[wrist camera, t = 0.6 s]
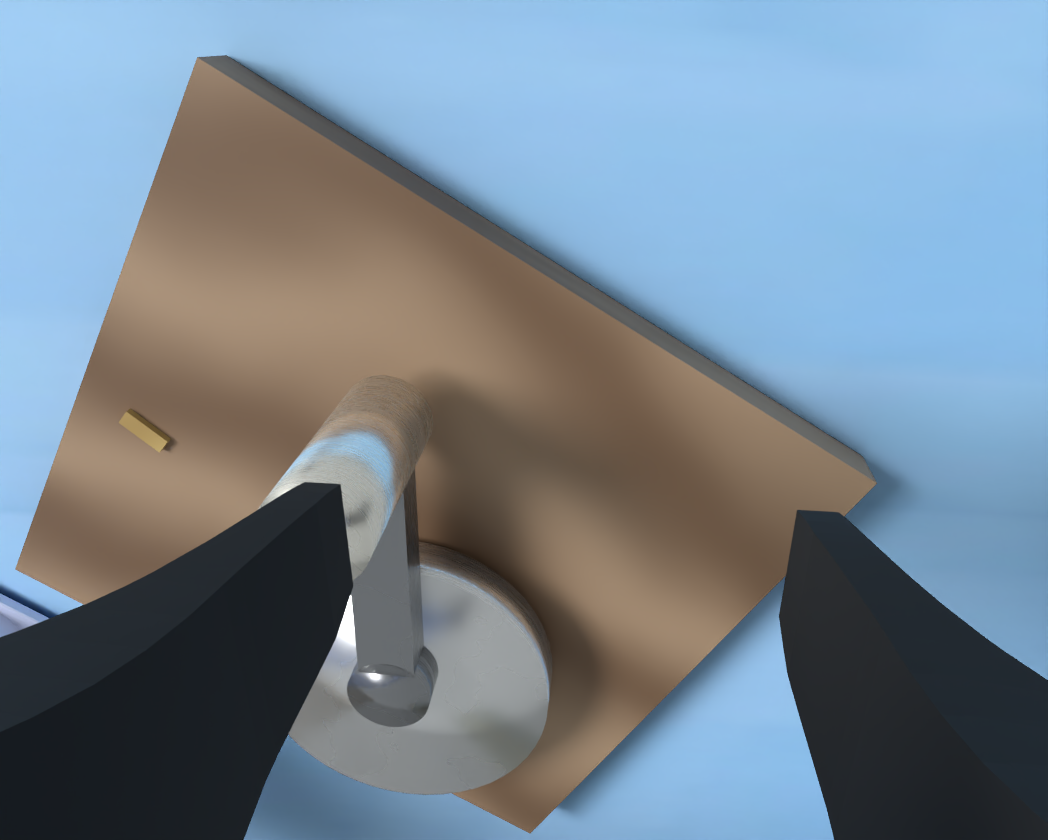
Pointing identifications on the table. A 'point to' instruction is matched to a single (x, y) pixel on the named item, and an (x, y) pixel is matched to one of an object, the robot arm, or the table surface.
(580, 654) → the stand board
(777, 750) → the table surface
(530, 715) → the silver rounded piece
